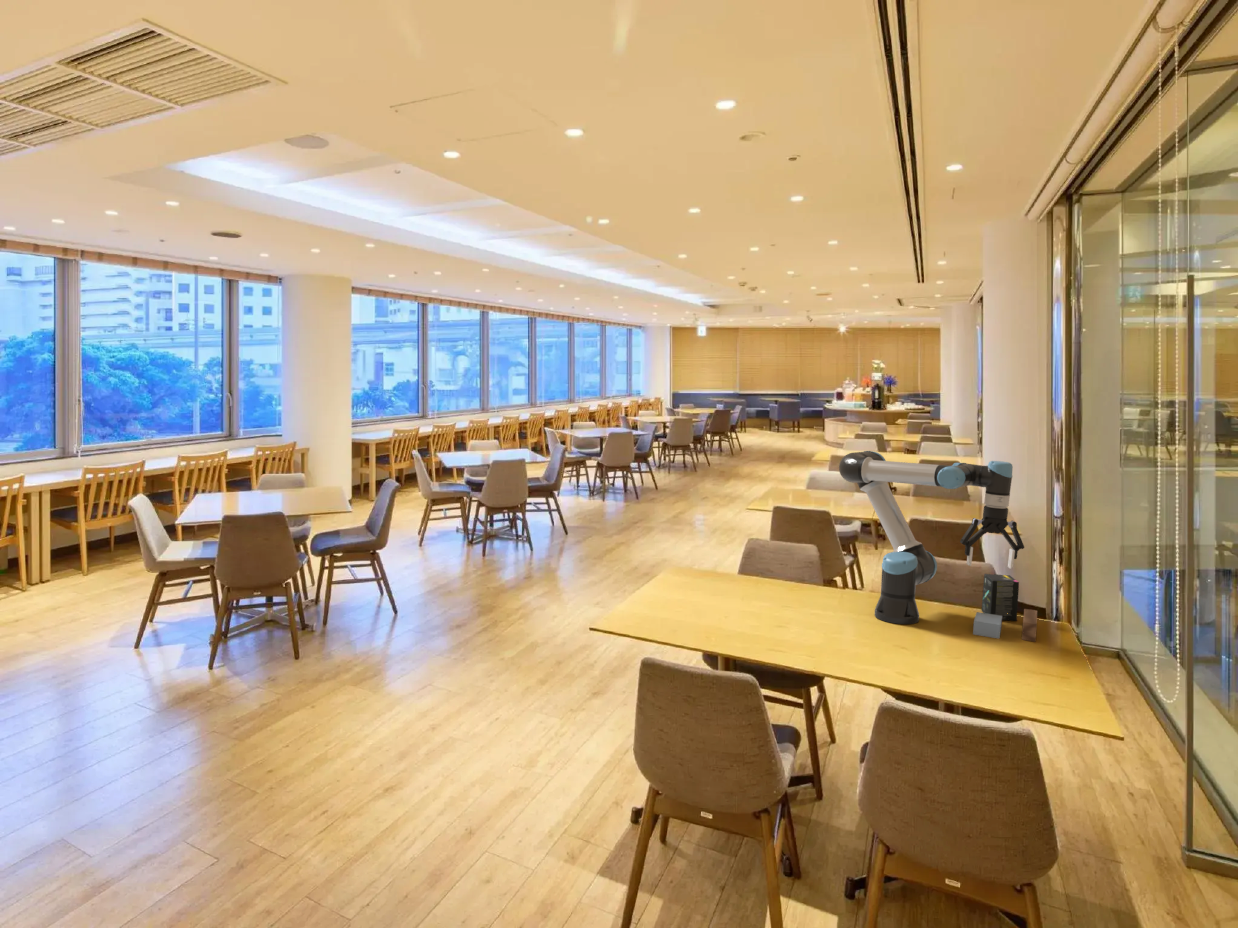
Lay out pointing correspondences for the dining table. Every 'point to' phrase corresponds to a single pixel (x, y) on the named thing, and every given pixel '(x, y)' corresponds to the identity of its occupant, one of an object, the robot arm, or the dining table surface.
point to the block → (987, 625)
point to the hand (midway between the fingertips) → (989, 566)
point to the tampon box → (1000, 596)
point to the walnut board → (1029, 625)
